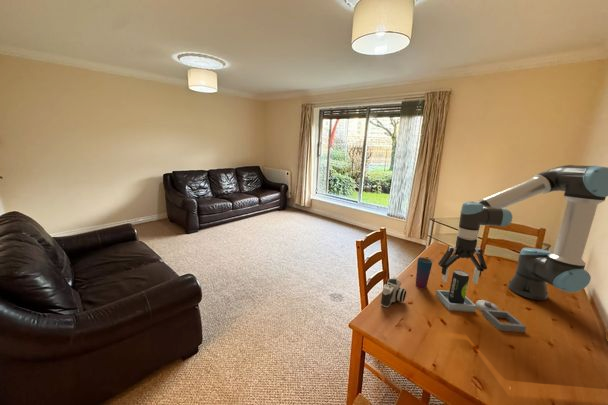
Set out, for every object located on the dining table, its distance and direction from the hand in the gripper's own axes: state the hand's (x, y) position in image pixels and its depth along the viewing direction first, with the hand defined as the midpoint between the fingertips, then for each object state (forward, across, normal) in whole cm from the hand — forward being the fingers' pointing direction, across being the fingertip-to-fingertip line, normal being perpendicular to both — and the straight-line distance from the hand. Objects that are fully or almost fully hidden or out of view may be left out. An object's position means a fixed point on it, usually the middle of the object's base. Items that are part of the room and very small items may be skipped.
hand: (459, 282), depth 112 cm
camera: (+11, +29, +2) cm, 31 cm away
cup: (+11, +11, -13) cm, 20 cm away
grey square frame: (+11, -12, +12) cm, 20 cm away
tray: (+11, +1, 0) cm, 11 cm away
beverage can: (+10, 0, 0) cm, 10 cm away
